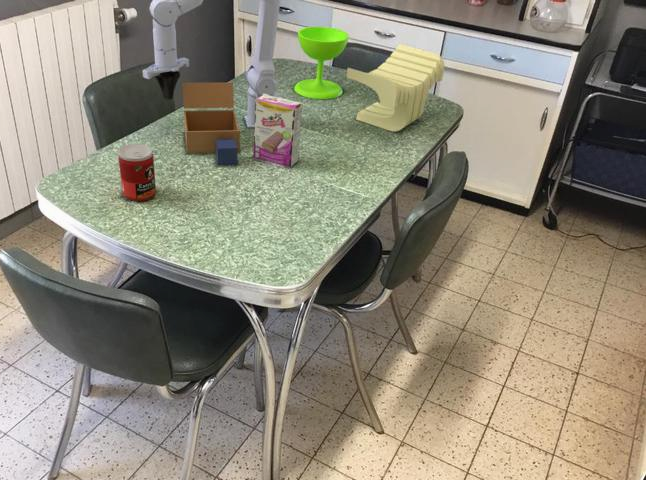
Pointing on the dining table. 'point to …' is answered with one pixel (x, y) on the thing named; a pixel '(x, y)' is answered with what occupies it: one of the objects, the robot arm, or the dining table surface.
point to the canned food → (137, 171)
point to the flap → (208, 95)
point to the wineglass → (321, 59)
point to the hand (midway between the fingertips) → (168, 98)
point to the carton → (209, 129)
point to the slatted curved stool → (400, 87)
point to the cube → (226, 152)
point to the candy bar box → (277, 129)
